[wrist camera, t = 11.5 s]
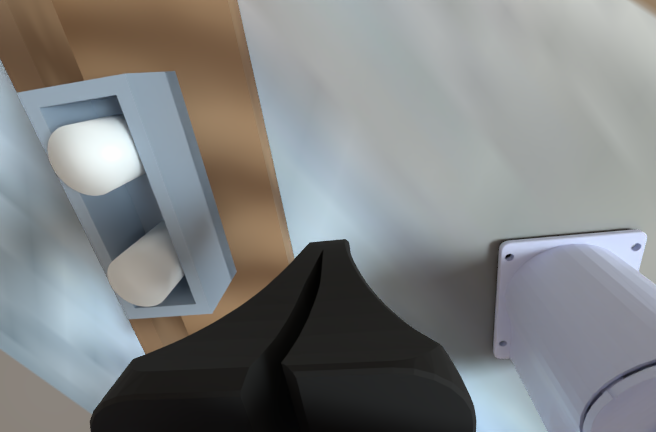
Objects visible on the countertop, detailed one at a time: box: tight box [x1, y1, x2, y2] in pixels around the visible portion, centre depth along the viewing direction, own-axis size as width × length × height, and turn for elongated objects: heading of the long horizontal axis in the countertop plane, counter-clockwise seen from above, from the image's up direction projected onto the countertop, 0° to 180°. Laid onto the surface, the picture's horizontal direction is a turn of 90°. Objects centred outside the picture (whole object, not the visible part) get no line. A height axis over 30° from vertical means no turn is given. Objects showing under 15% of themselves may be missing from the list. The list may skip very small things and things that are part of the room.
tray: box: [17, 71, 237, 319], centre depth 17 cm, size 12×5×5 cm, turn 9°
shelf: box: [0, 0, 294, 354], centre depth 19 cm, size 22×10×4 cm, turn 9°
